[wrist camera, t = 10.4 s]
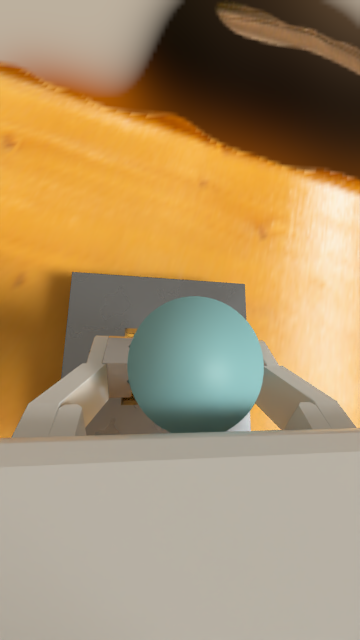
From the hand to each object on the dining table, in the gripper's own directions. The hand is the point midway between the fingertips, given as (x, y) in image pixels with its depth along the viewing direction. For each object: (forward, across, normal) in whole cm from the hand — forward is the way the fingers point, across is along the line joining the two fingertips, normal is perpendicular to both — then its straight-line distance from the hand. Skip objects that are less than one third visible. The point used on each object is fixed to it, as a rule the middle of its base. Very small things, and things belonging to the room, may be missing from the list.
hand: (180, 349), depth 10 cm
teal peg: (+3, 0, +4) cm, 5 cm away
